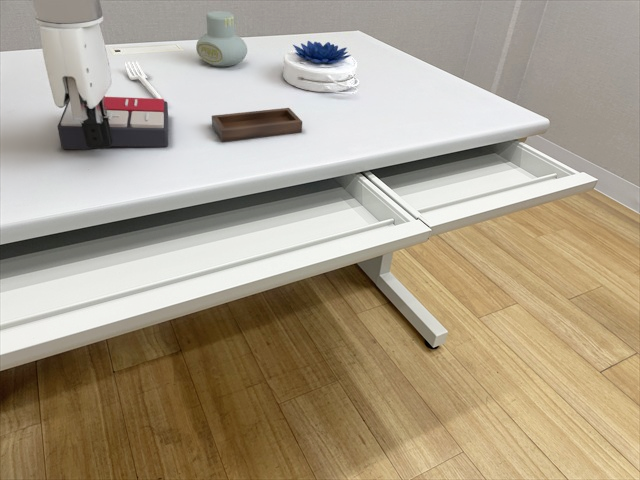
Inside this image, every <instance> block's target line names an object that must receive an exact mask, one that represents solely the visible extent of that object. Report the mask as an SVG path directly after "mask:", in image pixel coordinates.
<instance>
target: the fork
mask: <svg viewBox="0 0 640 480" xmlns="http://www.w3.org/2000/svg"><path fill="white" fill-rule="evenodd" d="M135 63H136V65H135V64H134V61H131V63H130V61H128V62H126V61H125V62H124V66H125V70H126V73H127V76H128V78H129V80H131V81H135V80H139V81H140V82H141V84H142V85H143V86H144V87H145V88H146V89H147V90H148V91H149V92H150V94H151V95H152V96H153V97H154V99H163V97H162V96H161V95H160V94H159V93H158V92H157V90H156V88H155V87H153V86H152V85H151V83H150V82H149V81H148V80H147V79H148V75H146V74H145V72H144V71H143V69H142V67H141V66H140V64H139V62H138V61H137V60H135ZM127 64H128V65H127ZM136 66H137V67H136Z"/></svg>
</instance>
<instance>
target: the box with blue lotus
mask: <svg viewBox="0 0 640 480" xmlns="http://www.w3.org/2000/svg"><path fill="white" fill-rule="evenodd" d="M306 43H307V44H304V43H300V46H301V47H300V46H298V45H295V44H292V46H293V48H294V49H292V50H289V51H288V52H286V53H285V54H284V56H283V70H282V71H283V72H282V77H283V79H284V80H285V82H287V84H289V85H291V86H292V87H295V88H298V89H301V90H305V91H310V92H316V93H334V94H337V95H352V94H353V95H354V94H356V93H358V92H359V89H358V88H357V86H359V84H360V80H359V79H358V77H357V71H358V70H357V69H358V62H357V60H356V59H355V58H354V57H353V56H352V54H348V53H349V51H346V50H347V49H348V47H343V48H339V45H335V44H334V43H332V44H331V43H330V42H329V41H327V42H325V44H322V43H321V42H317V41H313V42H312V41H310V40H307V41H306ZM349 89H353V90H354V91H347V92H346V90H349ZM344 91H345V92H344Z"/></svg>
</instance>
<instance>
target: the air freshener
mask: <svg viewBox="0 0 640 480" xmlns="http://www.w3.org/2000/svg"><path fill="white" fill-rule="evenodd" d="M206 31H207V32H206V33H205V34H203V35H202V36H200V37H199V39H198V40H197V42H196V46H195V48H196V53H197V55H198V56H199V57H200V58H201V60H203V61H204V62H206V63H208V64H210V65H211V66H212V67H216V68H217V67H218V68H222V67H233V66H235V65H237V64H239V63H241V62H243V60H244V59H245V58H246V57H247V54H248V46H247V44H246V42H245V40H244V39H243V38H242V37H240V36H239V35H237V34H236V16H235V15H234V13H232V12H229V11H224V10H223V11H222V10H214V11H209V12H207V14H206Z"/></svg>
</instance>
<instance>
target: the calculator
mask: <svg viewBox="0 0 640 480" xmlns="http://www.w3.org/2000/svg"><path fill="white" fill-rule="evenodd" d="M105 101H106V107H107V117H106V118H108V120H109V125H110V129H111V134H112V138H113V143H112V144H111V146H110V147H134V148H135V147H137V148H138V147H139V148H142V147H143V148H145V147H146V148H147V147H148V148H149V147H150V148H157V147H158V148H167V147H168V146H169V105H168V102H167V100H165V99H164V98H162V99H156V98H147V97H124V96H123V97H122V96H121V97H120V96H105ZM56 127H57V132H58V137H59V142H60V146H61V149H62V150H85V151H87V150H91V149H92V148H89V147H88V146H87V144H86V140H85V136H84V132H83V128H82V125H81V123H80V121H74V120H73V116H72V110H71V104H70V101H69V102H68V103H67V104H66V105H65V106H64V109H63V112H62V114H61V116H60V119H59V121H58V123H57V126H56Z"/></svg>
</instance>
